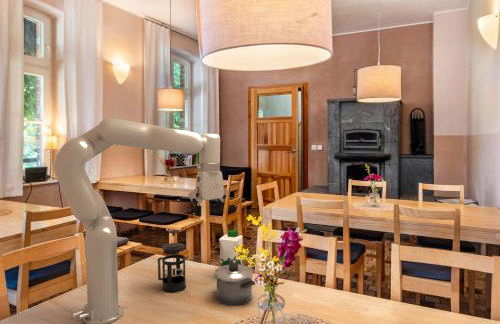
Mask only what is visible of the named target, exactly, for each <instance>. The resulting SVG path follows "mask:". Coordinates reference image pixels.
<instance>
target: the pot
mask: <svg viewBox="0 0 500 324" xmlns="http://www.w3.org/2000/svg"><path fill="white" fill-rule="evenodd" d="M213 273H214V277H215V272H213ZM252 279H253V276H252V277H251V278H249V279H247V280H244V281H238V282H227V281H222V280H219V279H217V278H216V300H217V303H219V304H221V305H224V306H228V307H237V306H243V305H246V304H248V303H250V302H251V300H252V297H253V292H252V291H253V287H252V286H255V285H256V281H254V280H252Z"/></svg>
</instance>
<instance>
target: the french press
mask: <svg viewBox="0 0 500 324" xmlns="http://www.w3.org/2000/svg"><path fill="white" fill-rule="evenodd" d="M167 233H168V234H171V236H172V242H170V243H165V244H163V245H162V246H161V249H162V253H163V254H164V255H166V256H162V257H161V256H160V257H158V258H157V279H158V281H162V286H161V290H162V291H163V292H165V293H170V294H172V293H179V292H182V291H184V290H185V289H187V282H186V281H187V280H186V256H185V255H182V254H179V253H180V252H181V251H182V250H184V248H185V247H186V244H184V243H182V242H175V235H176V234H177V233H180V232H179V230H176V229H171V230H168V231H167ZM168 259H169V260H170V259H173V261H166V260H168ZM181 259H182V260H181ZM161 263H162V266H161ZM181 265H182V268H181ZM172 266H173V267H172ZM161 267H162V271H161ZM166 267H167V269H166ZM161 272H162V273H161ZM161 274H162V275H161ZM161 276H162V277H161Z"/></svg>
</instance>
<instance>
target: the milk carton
mask: <svg viewBox="0 0 500 324" xmlns="http://www.w3.org/2000/svg"><path fill="white" fill-rule="evenodd" d="M218 241H219V255H220V256H219V257H220V258H219V259H220V261H219V267H221V266H224V265H229V260H230V259H236V257H237V256H238V255H240V254H238V255H236V254H235V249H234V247H237V246H238V245H239V244H241V245H242V246H243V235H241V234H240V235H239V234H238V230H235V229H230V230H227V233H226V234H224V235H222V236H221V237H220V238H219V239H218ZM238 265H243V259H242V260H238Z"/></svg>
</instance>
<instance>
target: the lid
mask: <svg viewBox="0 0 500 324" xmlns="http://www.w3.org/2000/svg"><path fill="white" fill-rule="evenodd" d="M249 267H250V266H248V265H243V264H242V265H238V260H237V259H230V260H229V265H224V266H221V267H220V266H219V267H217V268H215V270H214V273H215V276H214V277H215V278H216V280H217V279H219V280H222V281H227V282H238V281H244V280H247V279H249V278H251V277H252V278H253V271H254V270H253V269H252V268H251V267H250V268H249Z"/></svg>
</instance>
